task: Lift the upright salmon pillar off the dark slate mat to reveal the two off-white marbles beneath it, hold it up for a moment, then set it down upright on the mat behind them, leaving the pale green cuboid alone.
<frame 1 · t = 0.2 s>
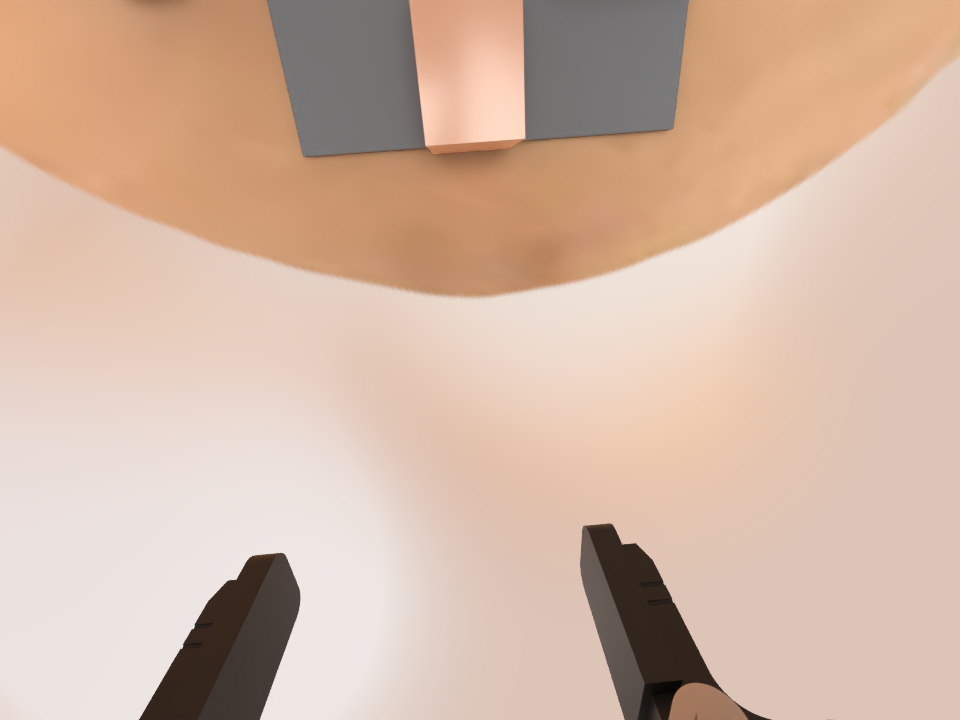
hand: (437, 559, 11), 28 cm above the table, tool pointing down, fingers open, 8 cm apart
upright salmon pillar: (466, 82, 29), point 1 cm above the table, touching slate mat
slate mat: (482, 16, 28), on the table
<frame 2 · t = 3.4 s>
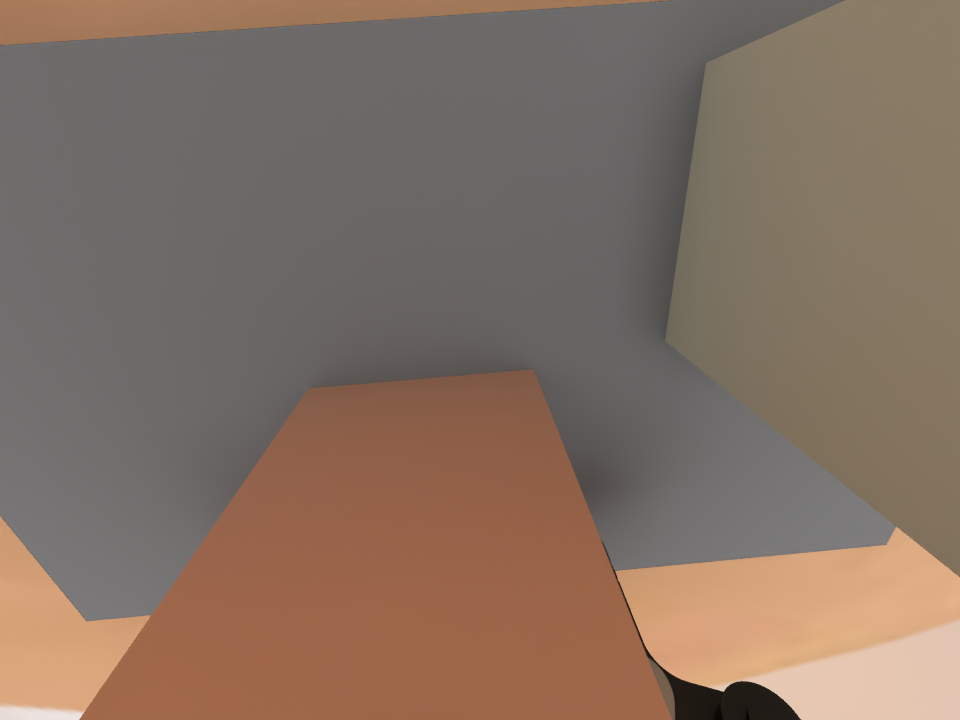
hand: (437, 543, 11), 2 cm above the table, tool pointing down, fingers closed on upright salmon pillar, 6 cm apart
pale green cuboid: (872, 207, 9), point 1 cm above the table, touching slate mat
upright salmon pillar: (440, 503, 12), point 1 cm above the table, touching gripper, slate mat
slate mat: (477, 373, 12), on the table
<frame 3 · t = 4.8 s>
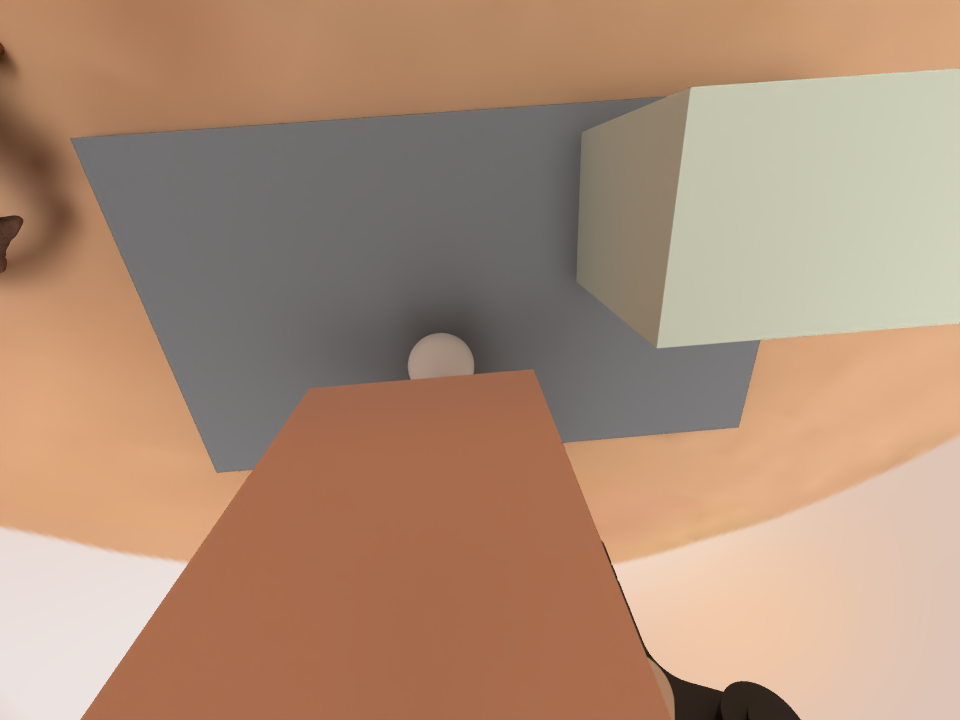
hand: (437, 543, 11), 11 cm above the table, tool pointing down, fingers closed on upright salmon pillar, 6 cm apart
pale green cuboid: (682, 204, 17), point 1 cm above the table, touching slate mat
upright salmon pillar: (440, 503, 12), point 9 cm above the table, touching gripper
marble one: (442, 352, 19), point 1 cm above the table, touching slate mat
slate mat: (469, 305, 19), on the table
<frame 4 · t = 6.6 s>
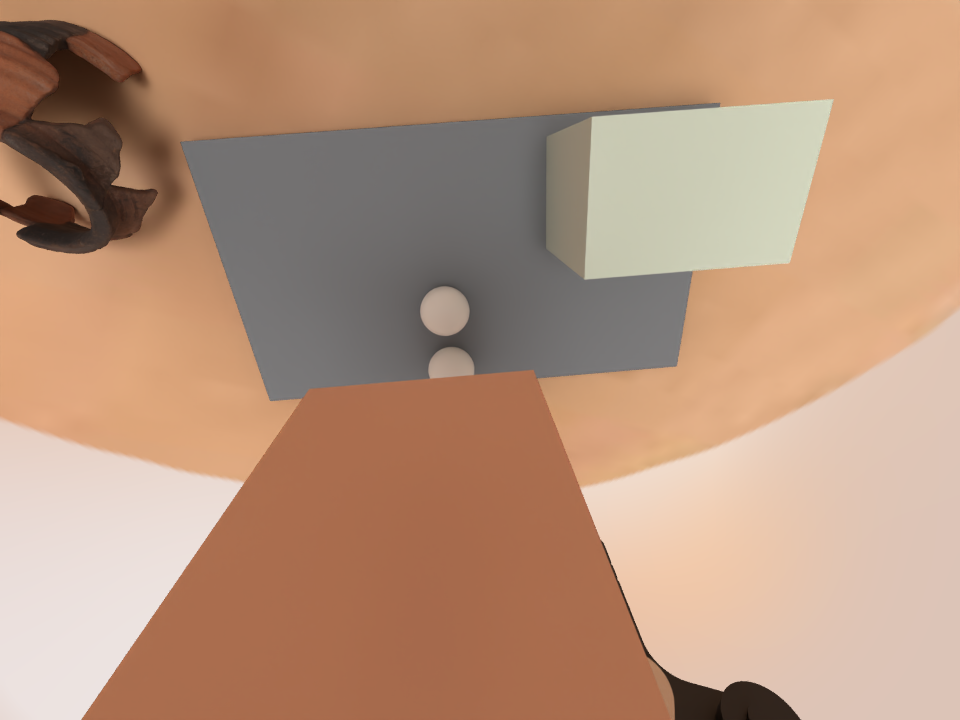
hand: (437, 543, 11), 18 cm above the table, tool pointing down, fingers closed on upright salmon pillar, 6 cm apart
pale green cuboid: (622, 189, 23), point 1 cm above the table, touching slate mat
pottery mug: (77, 126, 21), on the table
marble two: (451, 359, 27), point 1 cm above the table, touching slate mat
upright salmon pillar: (440, 504, 12), point 16 cm above the table, touching gripper
marble one: (445, 304, 25), point 1 cm above the table, touching slate mat
slate mat: (465, 267, 25), on the table
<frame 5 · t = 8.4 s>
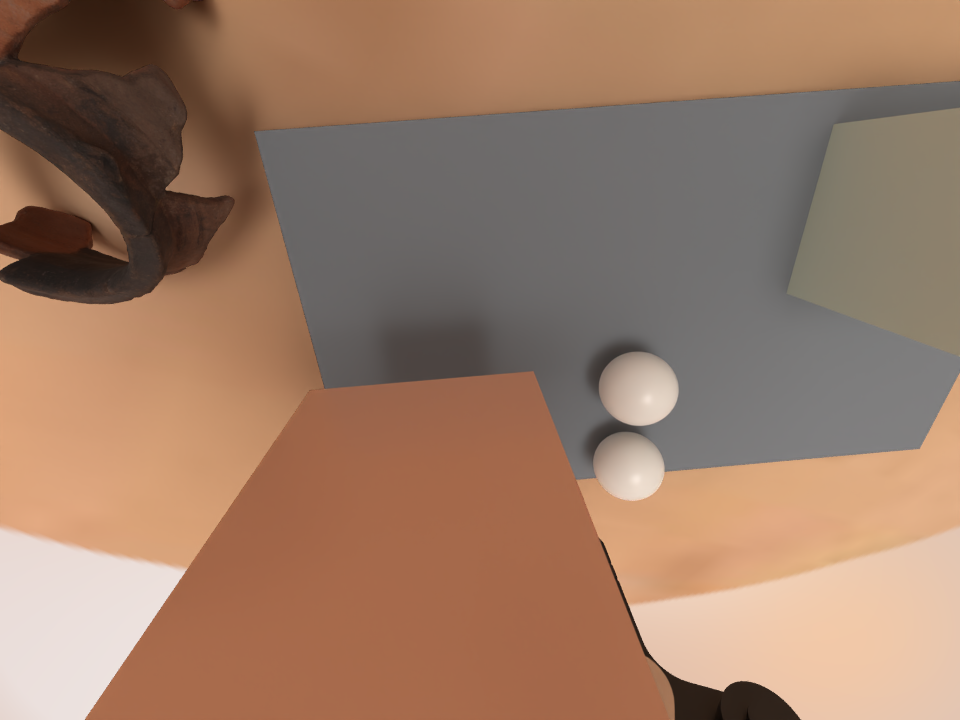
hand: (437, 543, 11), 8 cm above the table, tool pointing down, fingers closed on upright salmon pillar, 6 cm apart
pale green cuboid: (924, 207, 15), point 1 cm above the table, touching slate mat
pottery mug: (97, 93, 13), on the table
marble two: (615, 444, 19), point 1 cm above the table, touching slate mat
upright salmon pillar: (440, 505, 12), point 7 cm above the table, touching gripper
marble one: (623, 371, 17), point 1 cm above the table, touching slate mat
slate mat: (652, 318, 17), on the table
when the fingers open (4 cm above the table, at t = 9.8 s): upright salmon pillar drops 1 cm, resting on slate mat.
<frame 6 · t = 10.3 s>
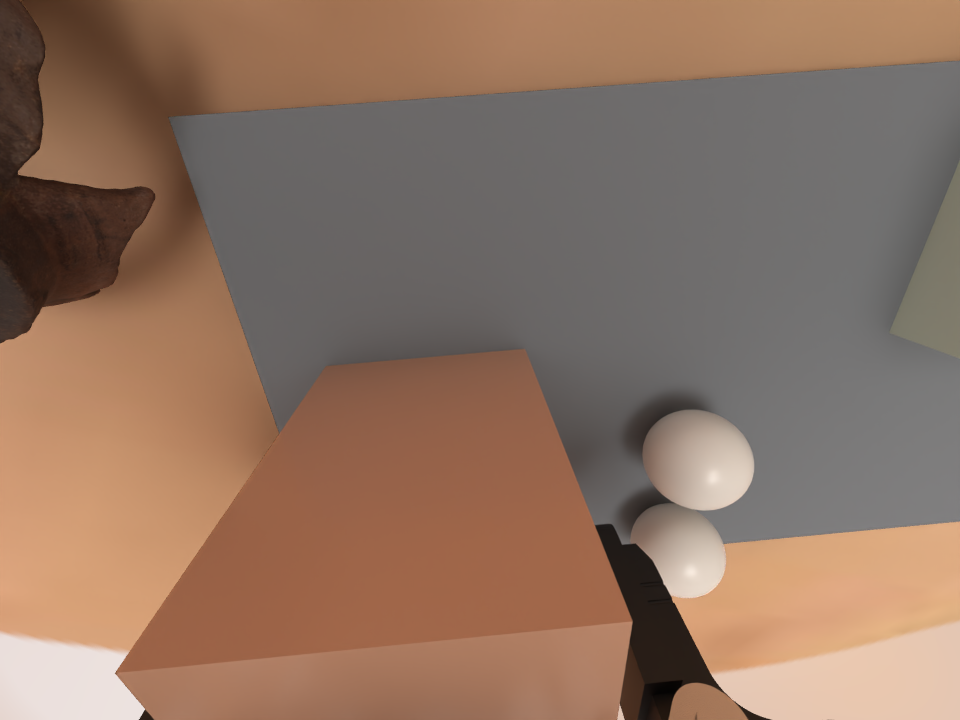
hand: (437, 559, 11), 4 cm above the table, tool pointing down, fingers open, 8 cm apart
marble two: (656, 515, 15), point 1 cm above the table, touching slate mat
upright salmon pillar: (442, 473, 14), point 1 cm above the table, touching slate mat
marble one: (670, 429, 13), point 1 cm above the table, touching slate mat
slate mat: (707, 361, 13), on the table
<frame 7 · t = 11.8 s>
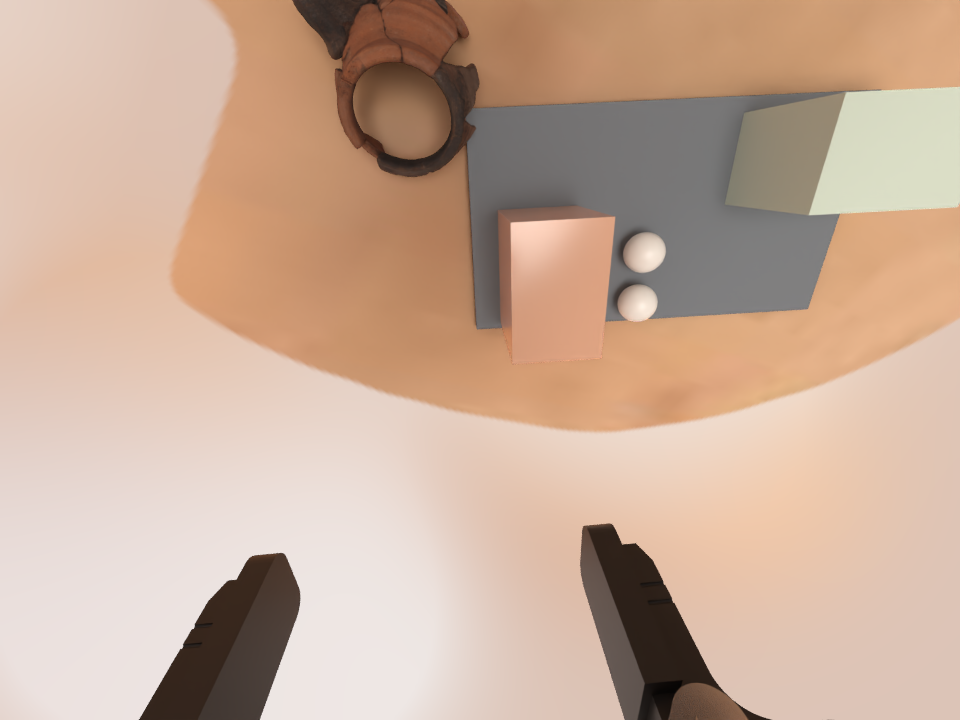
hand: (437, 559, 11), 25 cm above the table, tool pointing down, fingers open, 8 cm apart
pale green cuboid: (793, 157, 29), point 1 cm above the table, touching slate mat
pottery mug: (399, 76, 27), on the table
marble two: (629, 297, 33), point 1 cm above the table, touching slate mat
upright salmon pillar: (536, 267, 31), point 1 cm above the table, touching slate mat
marble one: (635, 249, 31), point 1 cm above the table, touching slate mat
slate mat: (652, 220, 31), on the table
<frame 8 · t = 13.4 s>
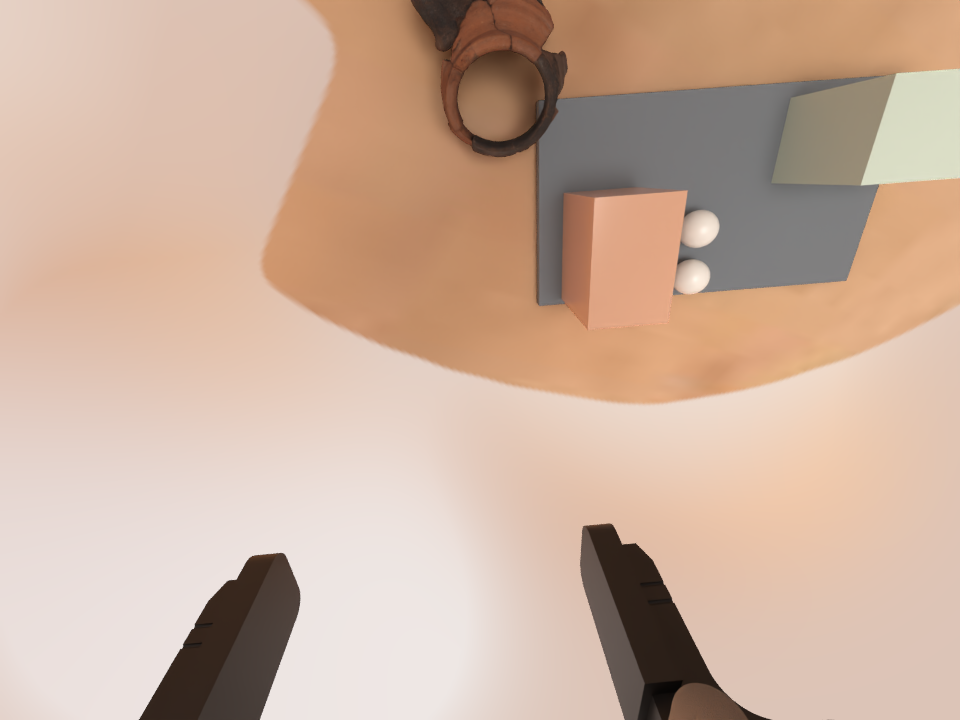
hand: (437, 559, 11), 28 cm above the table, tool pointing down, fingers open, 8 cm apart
pale green cuboid: (835, 138, 31), point 1 cm above the table, touching slate mat
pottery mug: (484, 67, 29), on the table
marble two: (681, 273, 36), point 1 cm above the table, touching slate mat
upright salmon pillar: (596, 246, 34), point 1 cm above the table, touching slate mat
marble one: (688, 226, 34), point 1 cm above the table, touching slate mat
slate mat: (703, 200, 34), on the table
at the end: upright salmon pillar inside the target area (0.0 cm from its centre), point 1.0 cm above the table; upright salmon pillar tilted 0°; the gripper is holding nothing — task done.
